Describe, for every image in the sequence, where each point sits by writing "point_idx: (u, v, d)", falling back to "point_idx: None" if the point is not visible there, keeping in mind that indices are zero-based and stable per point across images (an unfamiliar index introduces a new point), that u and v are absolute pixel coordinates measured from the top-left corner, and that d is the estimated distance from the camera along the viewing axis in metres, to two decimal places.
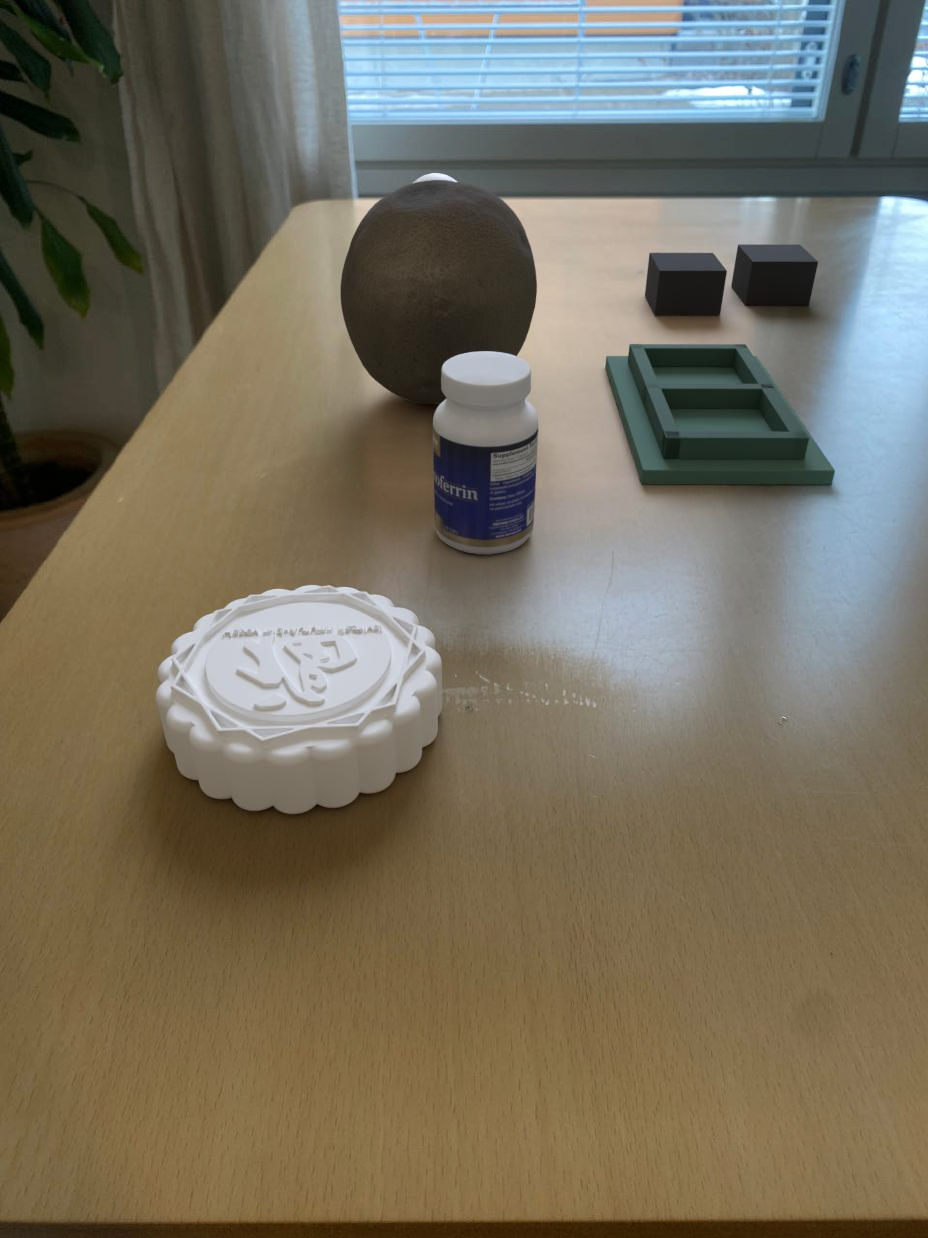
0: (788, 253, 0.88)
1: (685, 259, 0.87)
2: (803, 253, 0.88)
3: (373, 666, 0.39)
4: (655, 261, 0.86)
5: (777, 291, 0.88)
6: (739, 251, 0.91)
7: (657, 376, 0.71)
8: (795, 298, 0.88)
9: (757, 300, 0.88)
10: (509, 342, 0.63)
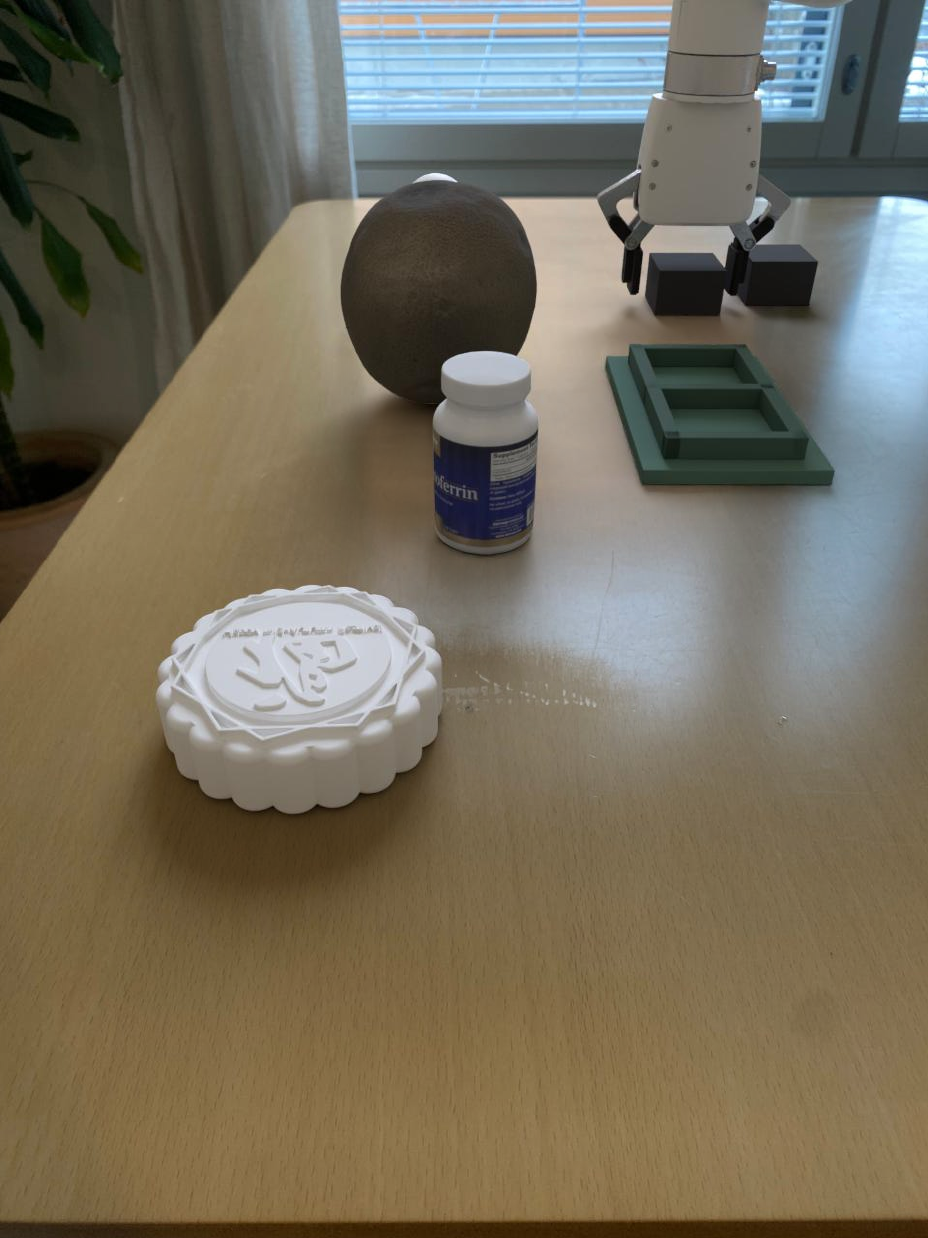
0: (788, 253, 0.88)
1: (685, 259, 0.87)
2: (803, 253, 0.88)
3: (373, 666, 0.39)
4: (655, 261, 0.86)
5: (777, 291, 0.88)
6: None
7: (657, 376, 0.71)
8: (795, 298, 0.88)
9: (757, 300, 0.88)
10: (509, 342, 0.63)
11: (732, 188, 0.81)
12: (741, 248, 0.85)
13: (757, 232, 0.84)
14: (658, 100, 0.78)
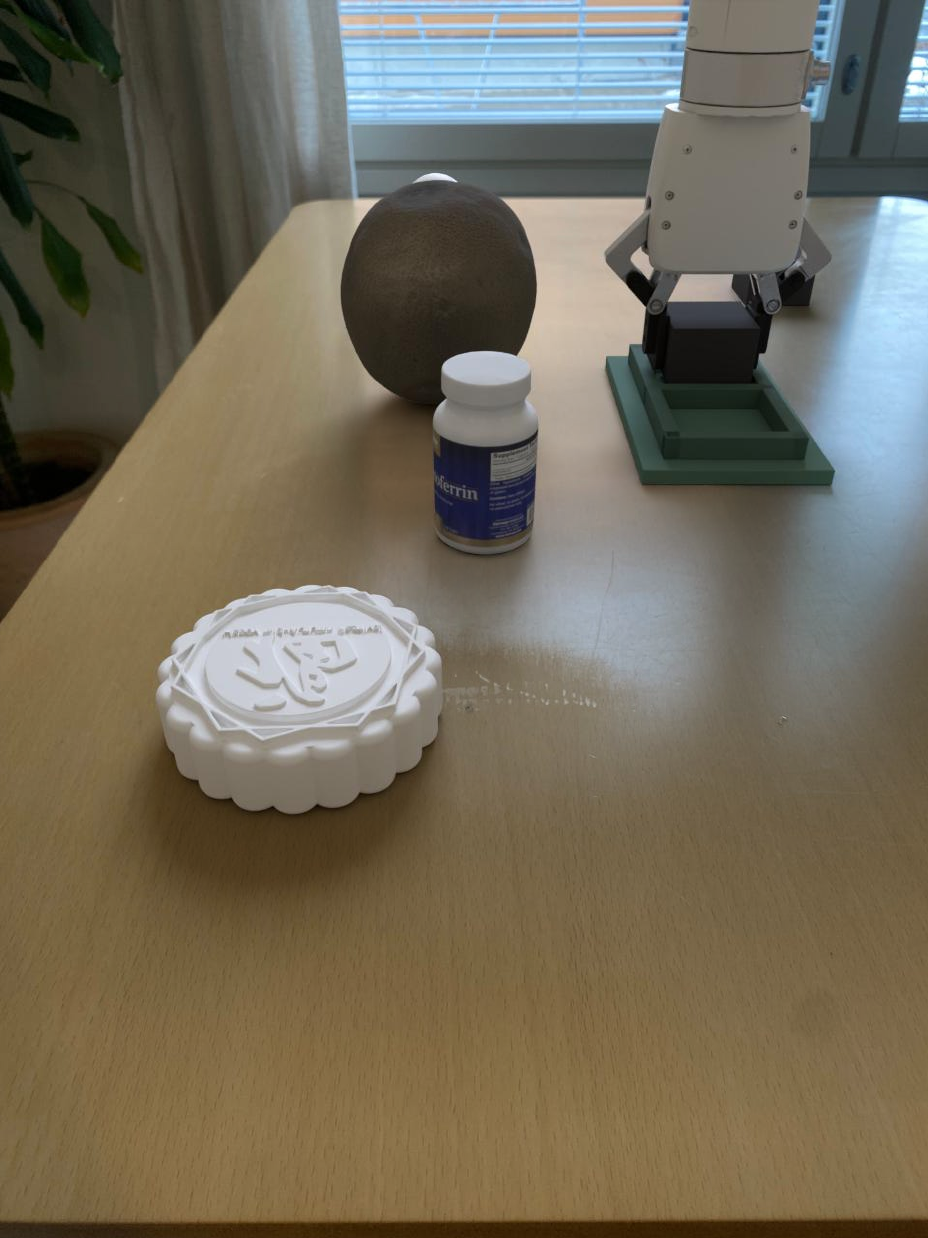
0: None
1: (705, 311, 0.68)
2: None
3: (373, 666, 0.39)
4: None
5: None
6: None
7: (657, 376, 0.71)
8: (795, 298, 0.88)
9: None
10: (509, 342, 0.63)
11: (771, 226, 0.62)
12: (762, 310, 0.66)
13: (782, 291, 0.65)
14: (673, 113, 0.59)
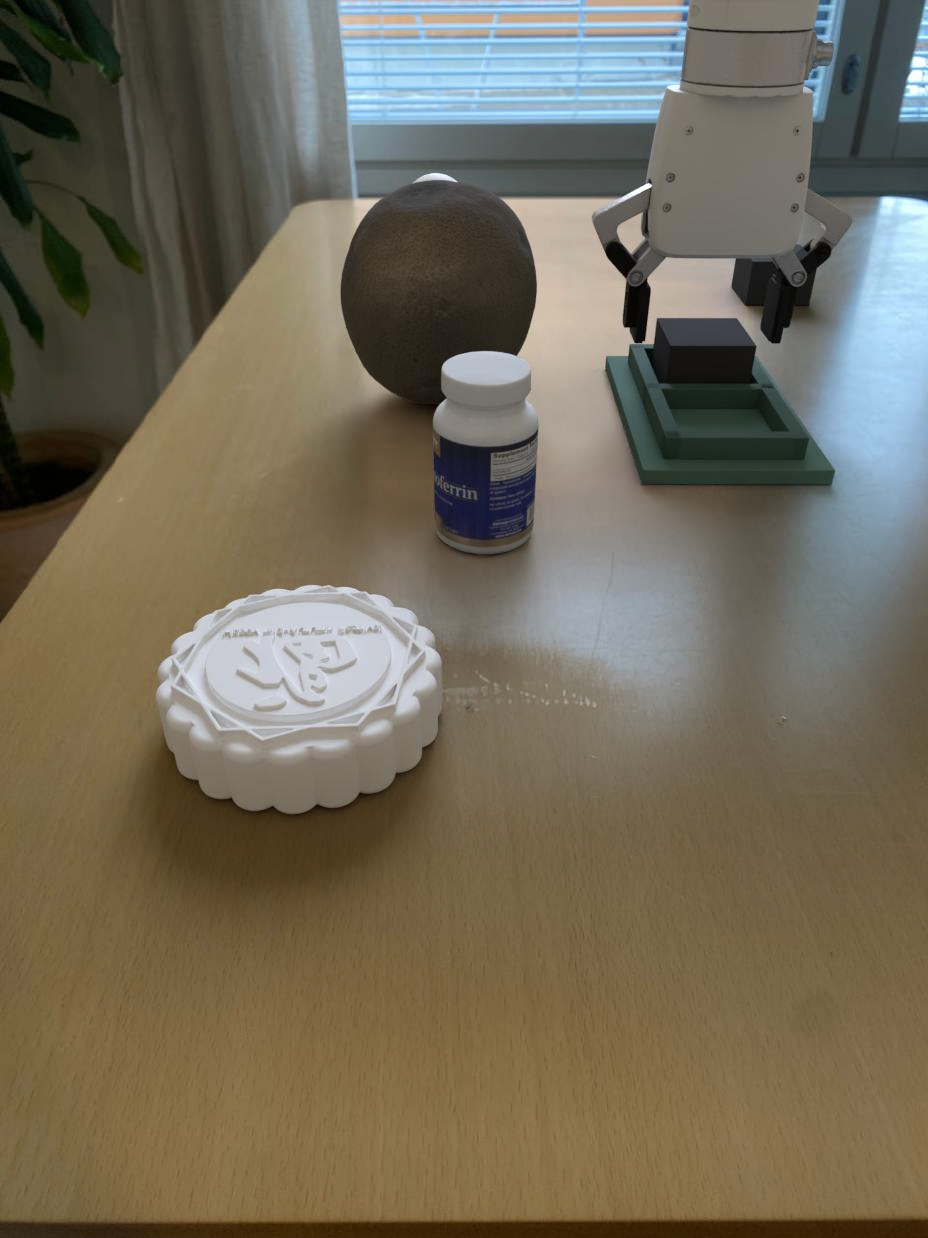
0: None
1: (702, 328, 0.68)
2: None
3: (373, 666, 0.39)
4: (664, 331, 0.68)
5: None
6: None
7: None
8: None
9: (757, 300, 0.88)
10: (509, 342, 0.63)
11: (773, 210, 0.61)
12: (787, 283, 0.65)
13: (808, 263, 0.64)
14: (675, 94, 0.58)
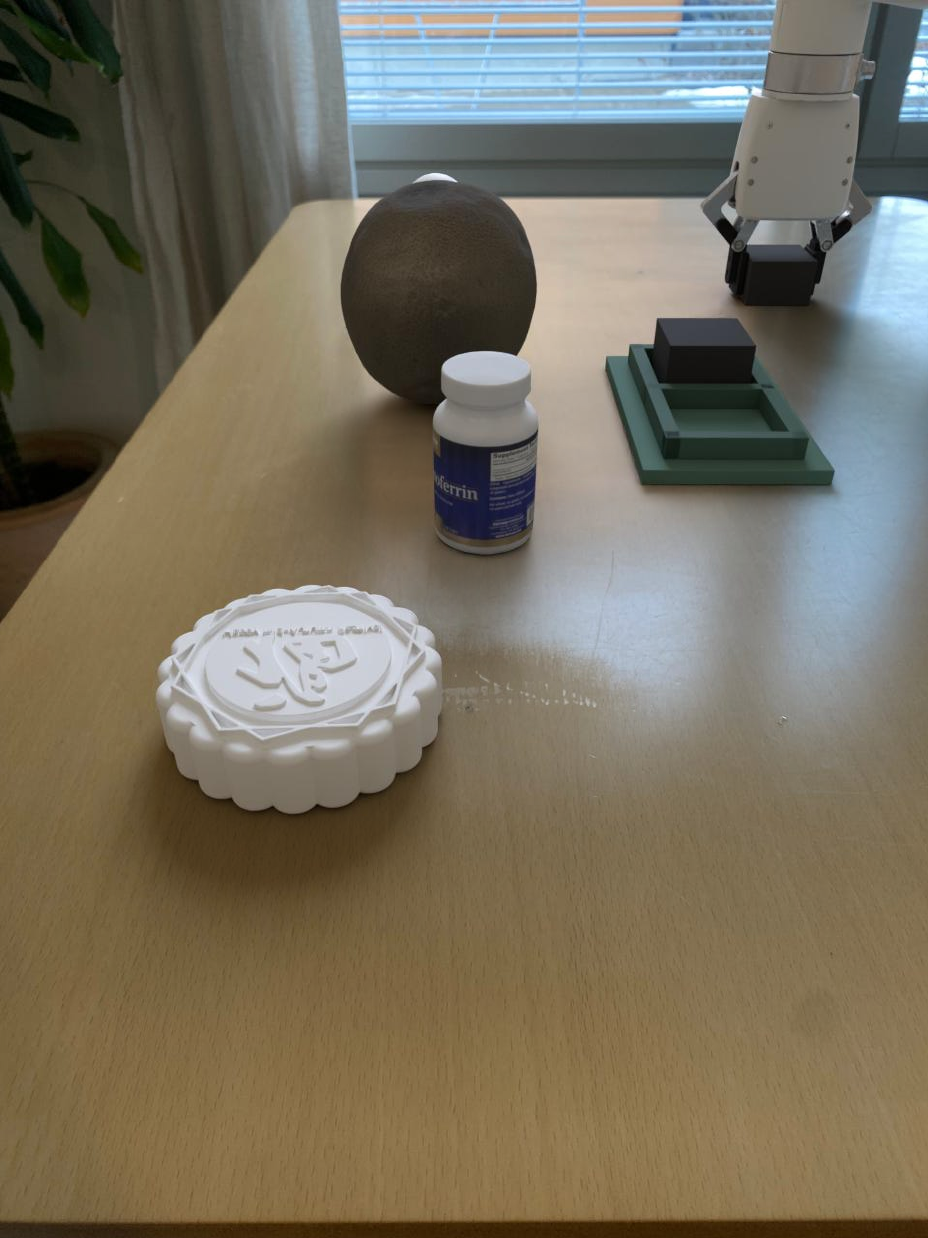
0: (788, 253, 0.88)
1: (702, 328, 0.68)
2: (803, 253, 0.88)
3: (373, 666, 0.39)
4: (664, 331, 0.68)
5: (777, 291, 0.88)
6: None
7: None
8: (795, 298, 0.88)
9: (757, 300, 0.88)
10: (509, 342, 0.63)
11: (828, 183, 0.83)
12: (818, 249, 0.88)
13: (834, 234, 0.87)
14: (759, 99, 0.80)
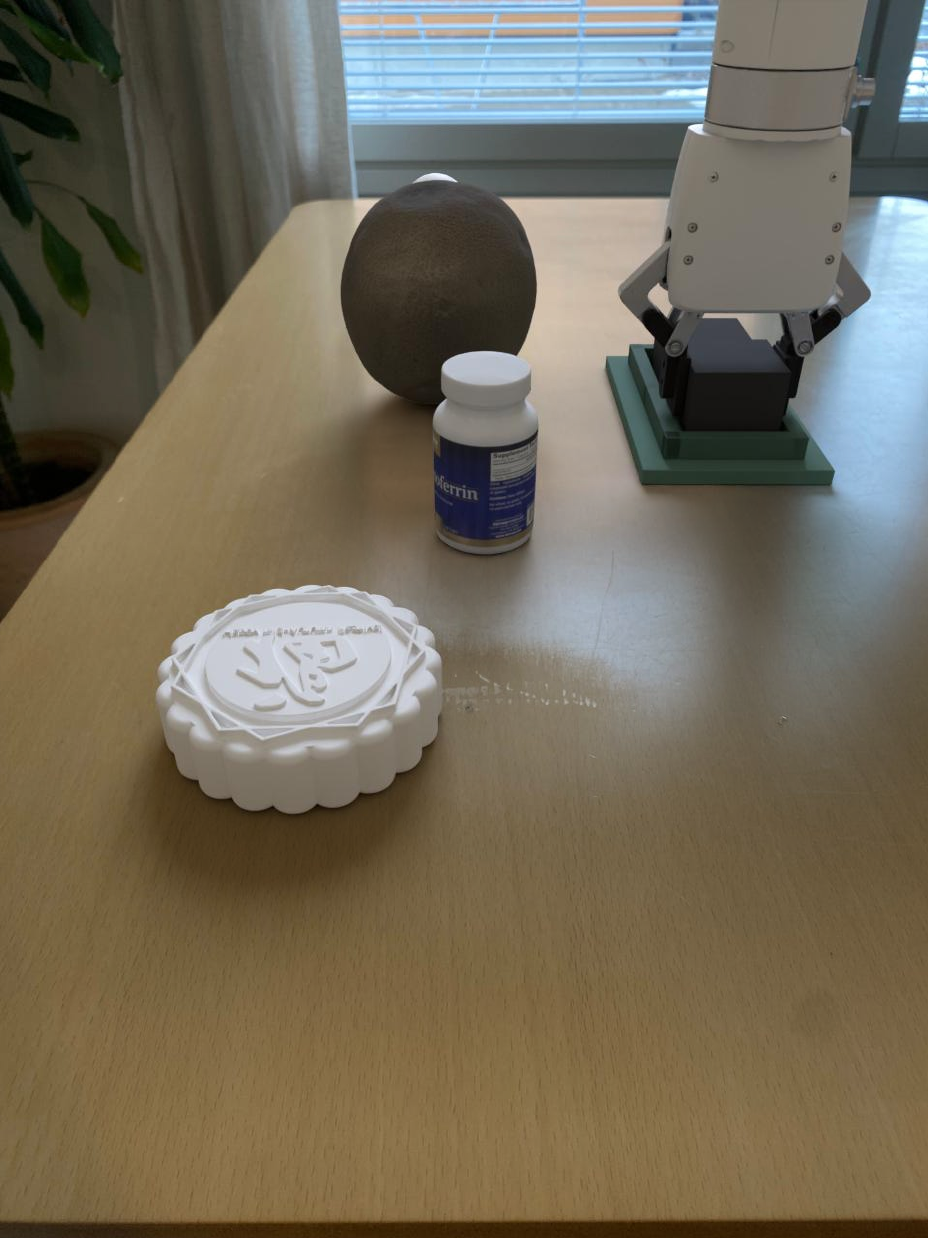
0: (748, 356, 0.61)
1: (702, 328, 0.68)
2: (770, 356, 0.61)
3: (373, 666, 0.39)
4: None
5: (732, 413, 0.60)
6: None
7: None
8: (759, 422, 0.60)
9: (703, 425, 0.60)
10: (509, 342, 0.63)
11: (805, 262, 0.55)
12: (793, 352, 0.60)
13: (816, 331, 0.59)
14: (698, 136, 0.52)
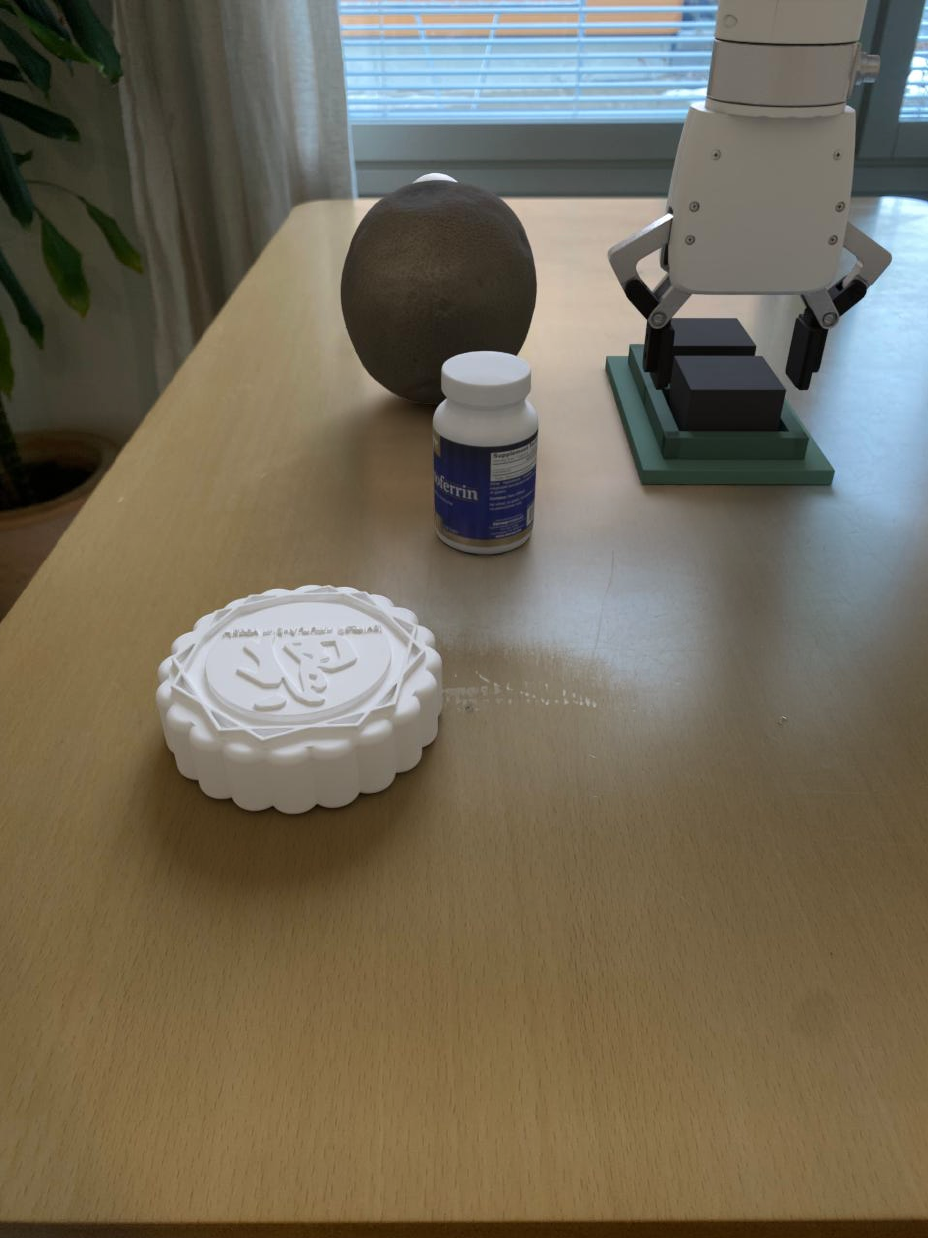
0: (744, 373, 0.61)
1: (702, 328, 0.68)
2: (766, 373, 0.61)
3: (373, 666, 0.39)
4: None
5: (727, 429, 0.61)
6: (675, 366, 0.63)
7: None
8: None
9: None
10: (509, 342, 0.63)
11: (808, 242, 0.54)
12: (817, 325, 0.59)
13: (840, 303, 0.58)
14: (700, 113, 0.52)
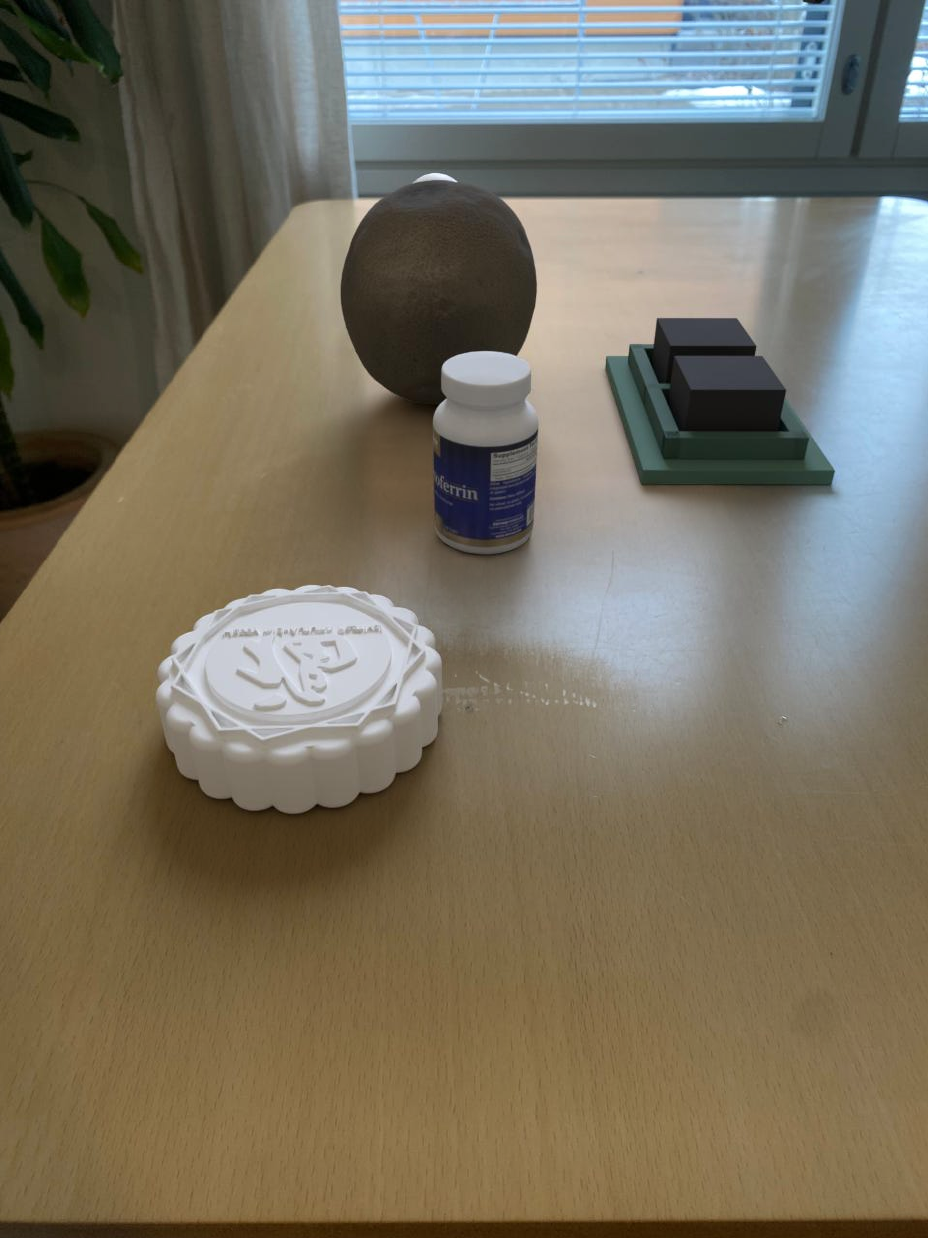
0: (744, 373, 0.61)
1: (702, 328, 0.68)
2: (766, 373, 0.61)
3: (373, 666, 0.39)
4: (664, 331, 0.68)
5: (727, 429, 0.61)
6: (675, 366, 0.63)
7: None
8: None
9: None
10: (509, 342, 0.63)
11: None
12: None
13: None
14: None
